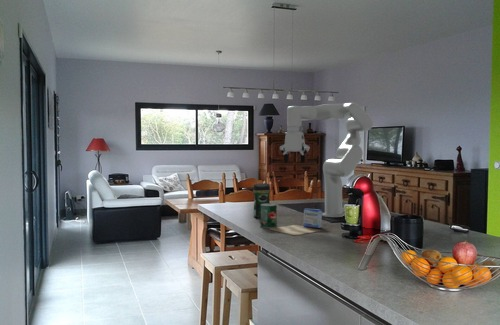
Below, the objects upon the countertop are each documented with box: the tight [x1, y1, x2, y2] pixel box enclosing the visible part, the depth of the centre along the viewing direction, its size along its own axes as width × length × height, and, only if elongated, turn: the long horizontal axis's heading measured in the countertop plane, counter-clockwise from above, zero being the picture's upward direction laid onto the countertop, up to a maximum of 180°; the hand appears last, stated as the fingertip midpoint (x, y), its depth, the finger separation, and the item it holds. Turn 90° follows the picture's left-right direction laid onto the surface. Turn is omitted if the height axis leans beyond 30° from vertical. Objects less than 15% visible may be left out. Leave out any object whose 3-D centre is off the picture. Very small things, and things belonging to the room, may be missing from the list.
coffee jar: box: [252, 182, 271, 219], centre depth 251 cm, size 10×8×19 cm
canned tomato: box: [260, 202, 278, 229], centre depth 223 cm, size 8×8×11 cm
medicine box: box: [302, 208, 323, 229], centre depth 219 cm, size 8×4×9 cm, turn 62°
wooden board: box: [269, 224, 321, 237], centre depth 213 cm, size 16×18×1 cm
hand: (294, 162), depth 238 cm, fingers open, 9 cm apart
